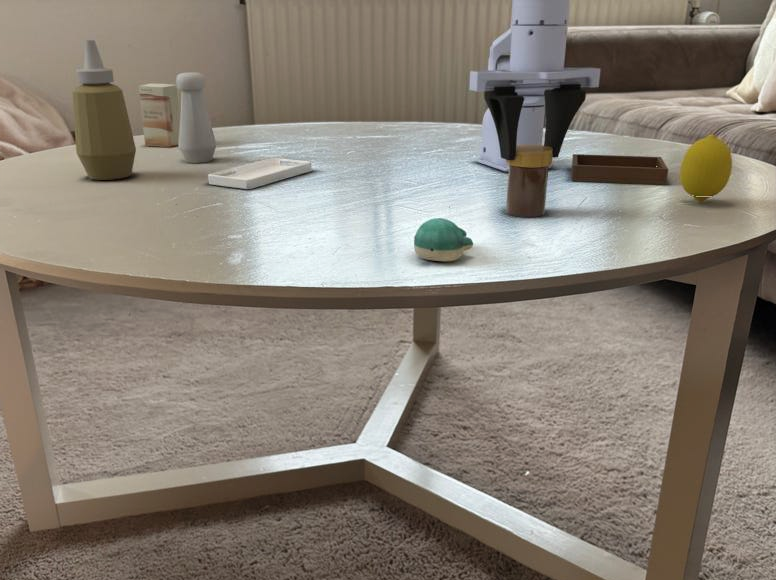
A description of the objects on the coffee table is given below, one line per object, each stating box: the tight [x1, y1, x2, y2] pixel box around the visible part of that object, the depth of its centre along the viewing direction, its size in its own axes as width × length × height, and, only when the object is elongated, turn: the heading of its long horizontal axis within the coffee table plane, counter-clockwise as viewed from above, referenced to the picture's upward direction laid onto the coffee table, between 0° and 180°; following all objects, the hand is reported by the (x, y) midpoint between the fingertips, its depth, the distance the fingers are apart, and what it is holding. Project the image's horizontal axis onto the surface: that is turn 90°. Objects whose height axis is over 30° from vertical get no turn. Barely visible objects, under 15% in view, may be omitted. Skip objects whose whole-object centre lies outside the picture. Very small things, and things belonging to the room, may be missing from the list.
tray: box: [571, 153, 669, 186], centre depth 106 cm, size 12×9×2 cm
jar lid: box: [506, 144, 553, 168], centre depth 85 cm, size 5×5×2 cm
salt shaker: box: [175, 71, 217, 164], centre depth 117 cm, size 6×6×13 cm
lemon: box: [679, 134, 733, 204], centre depth 90 cm, size 6×6×8 cm
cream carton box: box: [138, 82, 180, 148], centre depth 132 cm, size 5×4×10 cm
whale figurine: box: [413, 217, 474, 262], centre depth 72 cm, size 6×7×4 cm
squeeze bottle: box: [72, 39, 137, 181], centre depth 104 cm, size 8×8×18 cm
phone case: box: [207, 157, 313, 190], centre depth 107 cm, size 7×1×15 cm
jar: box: [505, 165, 550, 218], centre depth 86 cm, size 4×4×7 cm
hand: (529, 157), depth 85 cm, fingers closed on jar lid, 5 cm apart
